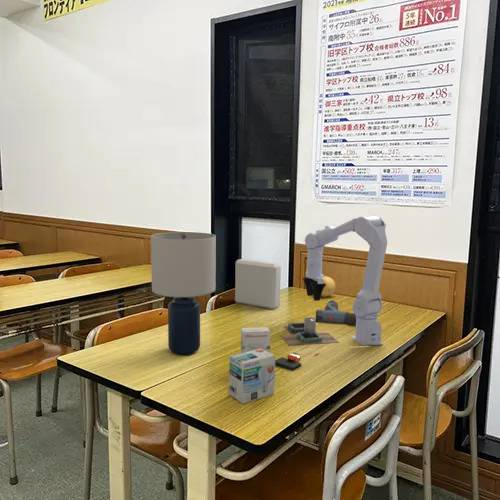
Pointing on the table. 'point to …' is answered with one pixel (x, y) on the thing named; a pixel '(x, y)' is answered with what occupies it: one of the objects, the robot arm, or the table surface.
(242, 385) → the light bulb box
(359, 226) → the robot arm
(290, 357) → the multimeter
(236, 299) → the bevelled white case
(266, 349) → the ink box
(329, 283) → the stress ball
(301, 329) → the socket block
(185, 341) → the lamp
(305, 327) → the peg
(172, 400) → the table surface
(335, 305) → the power drill
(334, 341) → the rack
